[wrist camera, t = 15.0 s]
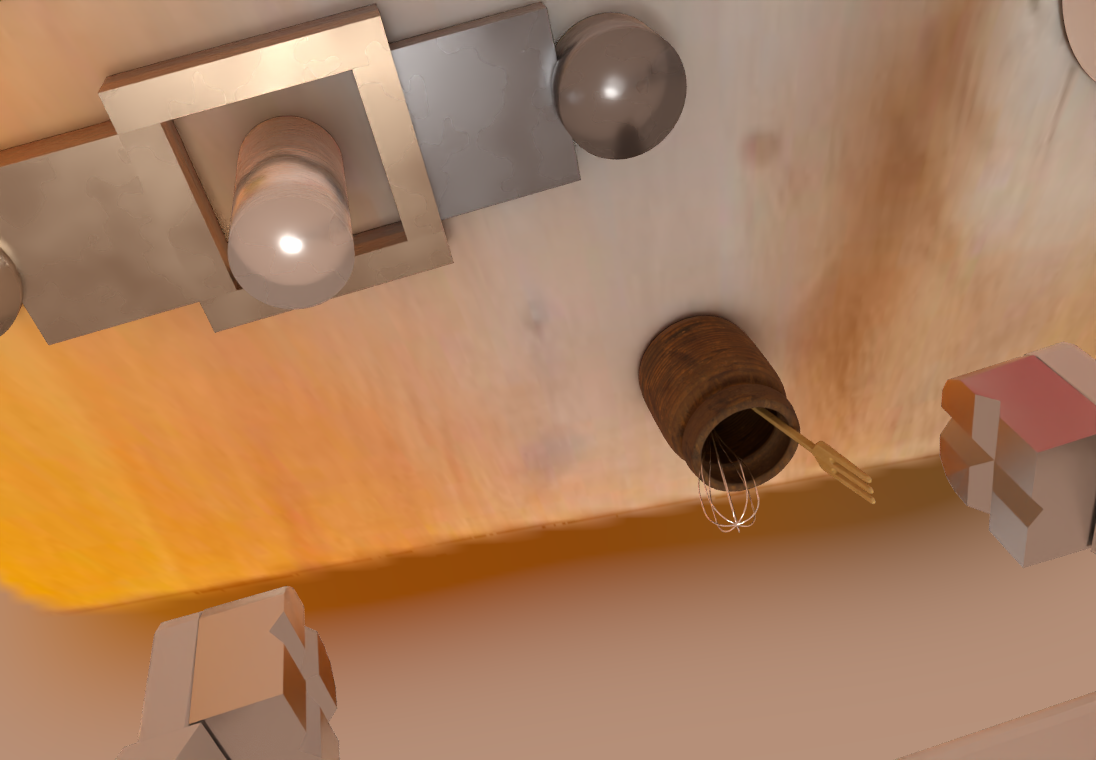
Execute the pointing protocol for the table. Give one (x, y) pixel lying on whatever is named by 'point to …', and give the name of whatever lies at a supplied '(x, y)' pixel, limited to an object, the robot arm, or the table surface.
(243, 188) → the steel pin
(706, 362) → the utensil holder
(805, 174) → the table surface
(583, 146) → the lower chain link
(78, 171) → the upper chain link
